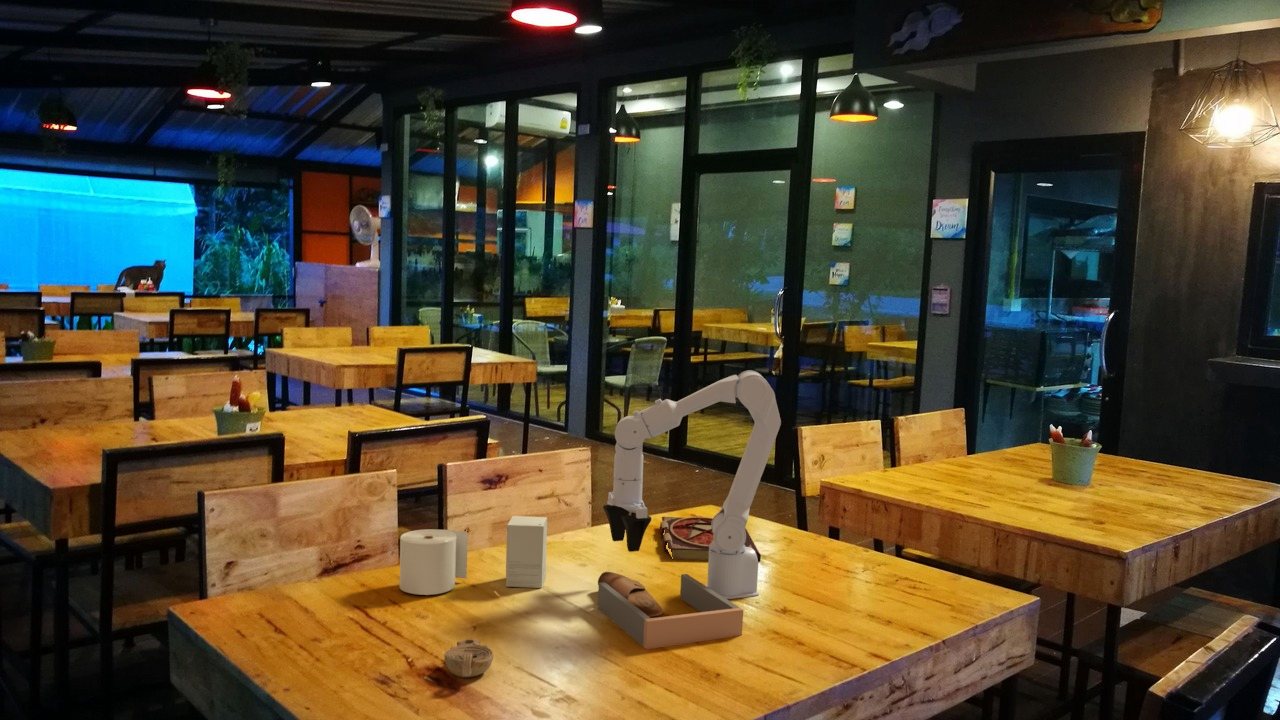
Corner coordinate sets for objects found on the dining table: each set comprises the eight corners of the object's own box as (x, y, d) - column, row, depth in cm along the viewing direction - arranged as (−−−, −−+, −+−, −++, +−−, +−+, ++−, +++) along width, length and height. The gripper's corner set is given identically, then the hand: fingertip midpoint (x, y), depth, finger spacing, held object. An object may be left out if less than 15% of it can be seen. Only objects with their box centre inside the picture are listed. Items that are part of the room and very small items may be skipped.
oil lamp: (448, 655, 155) (449, 625, 155) (495, 656, 156) (496, 626, 156) (438, 690, 142) (439, 657, 142) (489, 691, 143) (490, 658, 142)
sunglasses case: (667, 612, 175) (648, 584, 174) (636, 636, 174) (617, 608, 172) (638, 582, 192) (620, 556, 191) (609, 603, 191) (591, 577, 189)
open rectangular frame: (685, 599, 187) (686, 573, 187) (741, 637, 168) (743, 609, 168) (597, 609, 180) (598, 582, 179) (646, 650, 161) (647, 621, 160)
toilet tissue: (387, 590, 185) (388, 538, 184) (424, 573, 196) (425, 524, 196) (434, 599, 181) (436, 546, 181) (469, 581, 192) (470, 532, 192)
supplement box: (546, 577, 197) (548, 516, 196) (541, 589, 190) (544, 526, 189) (510, 575, 197) (512, 514, 196) (504, 587, 190) (506, 524, 189)
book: (760, 566, 213) (761, 544, 213) (664, 563, 212) (665, 540, 212) (742, 532, 241) (743, 512, 241) (658, 529, 241) (658, 509, 240)
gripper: (595, 471, 195) (592, 537, 196) (624, 486, 182) (621, 557, 183) (627, 469, 198) (624, 535, 199) (658, 484, 185) (655, 554, 186)
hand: (625, 545), depth 191 cm, fingers open, 7 cm apart
